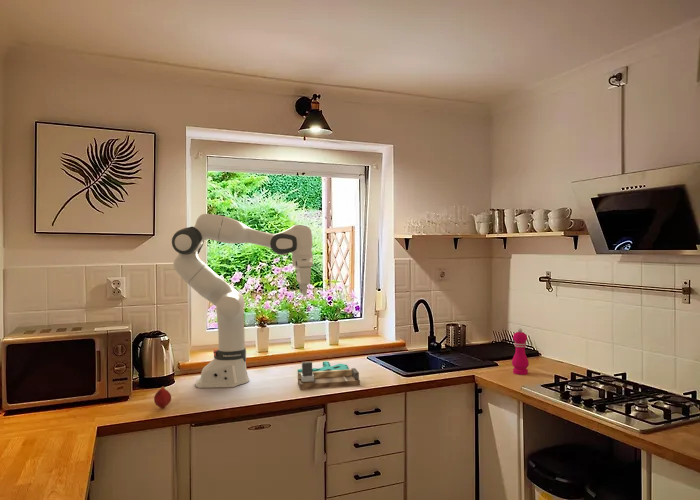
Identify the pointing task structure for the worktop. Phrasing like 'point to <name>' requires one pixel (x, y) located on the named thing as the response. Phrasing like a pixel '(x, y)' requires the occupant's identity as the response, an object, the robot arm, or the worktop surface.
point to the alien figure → (328, 367)
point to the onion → (162, 398)
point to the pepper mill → (520, 354)
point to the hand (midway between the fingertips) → (303, 293)
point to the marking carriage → (307, 372)
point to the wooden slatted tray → (331, 379)
